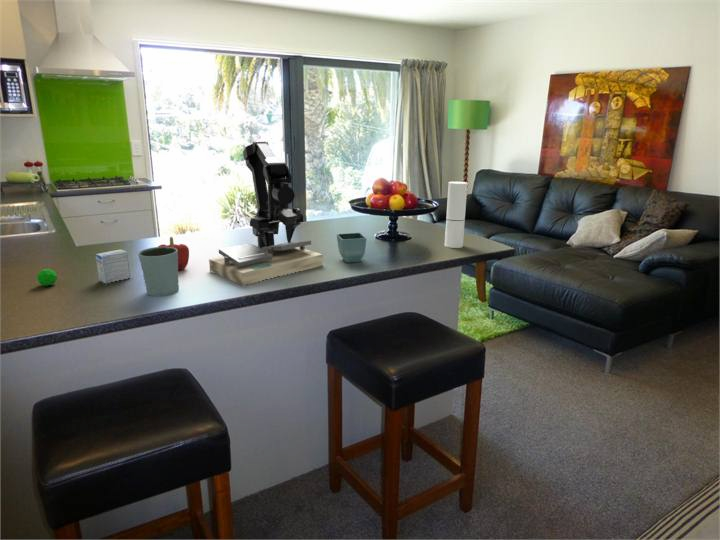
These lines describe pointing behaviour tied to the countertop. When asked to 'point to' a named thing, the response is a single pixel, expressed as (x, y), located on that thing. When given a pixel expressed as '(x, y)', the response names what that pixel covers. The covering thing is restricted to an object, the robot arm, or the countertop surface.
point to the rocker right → (288, 245)
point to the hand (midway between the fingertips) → (278, 244)
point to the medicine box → (113, 266)
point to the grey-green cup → (160, 270)
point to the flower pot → (351, 246)
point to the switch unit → (267, 265)
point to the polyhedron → (47, 277)
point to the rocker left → (245, 254)
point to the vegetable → (180, 253)
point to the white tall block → (455, 214)
